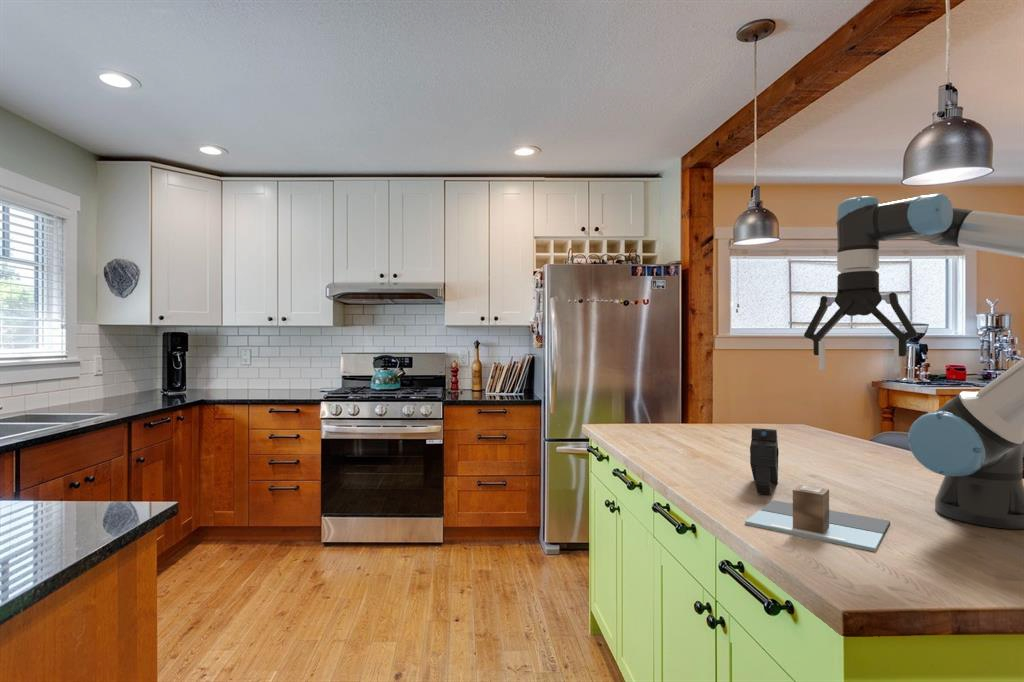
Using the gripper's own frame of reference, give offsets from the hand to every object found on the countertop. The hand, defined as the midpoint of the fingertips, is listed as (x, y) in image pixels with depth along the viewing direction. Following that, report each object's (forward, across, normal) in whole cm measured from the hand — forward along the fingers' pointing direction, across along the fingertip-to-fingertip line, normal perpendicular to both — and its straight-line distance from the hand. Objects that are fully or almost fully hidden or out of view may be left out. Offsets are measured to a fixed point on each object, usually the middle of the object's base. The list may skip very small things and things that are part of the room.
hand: (858, 371), depth 116 cm
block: (+28, +4, +23) cm, 37 cm away
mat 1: (+29, +4, +14) cm, 32 cm away
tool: (+29, +20, -4) cm, 35 cm away
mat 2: (+29, +4, +23) cm, 37 cm away
